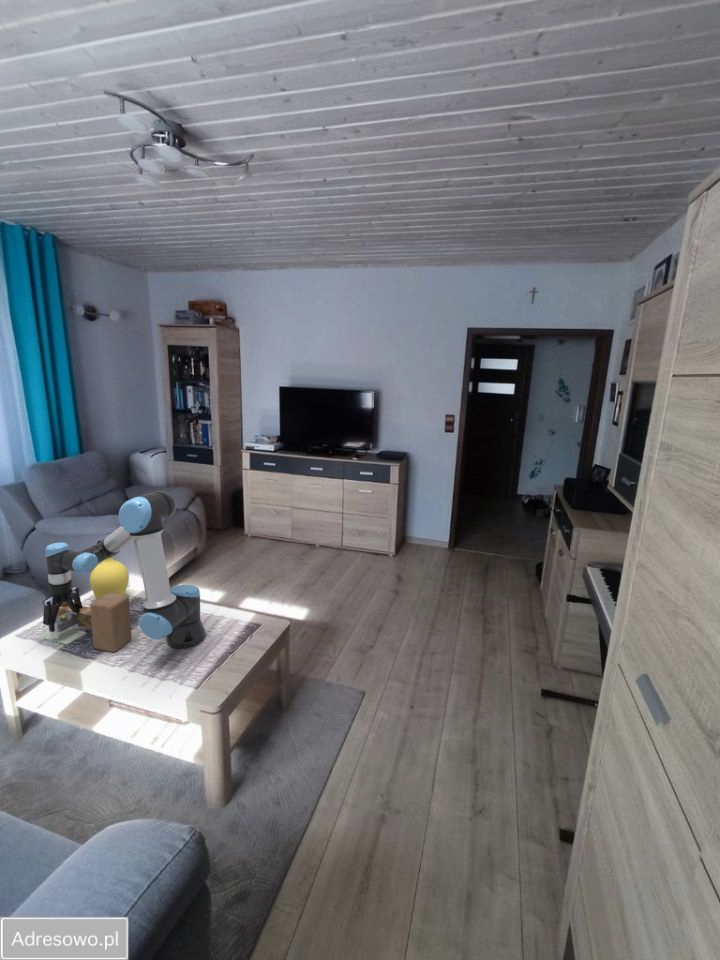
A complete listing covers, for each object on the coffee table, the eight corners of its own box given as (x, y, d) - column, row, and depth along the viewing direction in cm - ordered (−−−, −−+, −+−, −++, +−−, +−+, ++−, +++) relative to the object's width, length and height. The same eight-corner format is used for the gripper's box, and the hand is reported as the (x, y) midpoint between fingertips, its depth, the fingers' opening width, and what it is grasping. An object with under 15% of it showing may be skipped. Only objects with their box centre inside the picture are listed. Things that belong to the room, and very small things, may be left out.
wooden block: (114, 653, 168) (111, 607, 164) (92, 649, 170) (88, 603, 166) (132, 639, 178) (129, 595, 174) (111, 635, 180) (108, 591, 176)
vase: (83, 605, 202) (78, 549, 196) (108, 590, 217) (104, 538, 211) (114, 610, 199) (110, 553, 194) (137, 594, 215) (134, 541, 209)
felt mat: (86, 633, 180) (86, 632, 180) (66, 645, 172) (66, 644, 171) (64, 627, 183) (64, 626, 183) (43, 639, 175) (43, 637, 175)
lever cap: (78, 622, 179) (78, 612, 178) (60, 632, 172) (59, 621, 171) (67, 619, 181) (66, 609, 180) (49, 629, 174) (48, 618, 173)
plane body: (111, 626, 186) (109, 599, 183) (100, 633, 181) (98, 604, 178) (64, 615, 193) (62, 588, 190) (53, 621, 188) (50, 593, 185)
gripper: (76, 569, 183) (80, 618, 188) (26, 590, 164) (33, 643, 168) (90, 572, 181) (94, 621, 186) (41, 593, 162) (47, 647, 166)
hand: (65, 632), depth 177 cm, fingers closed on lever cap, 8 cm apart
